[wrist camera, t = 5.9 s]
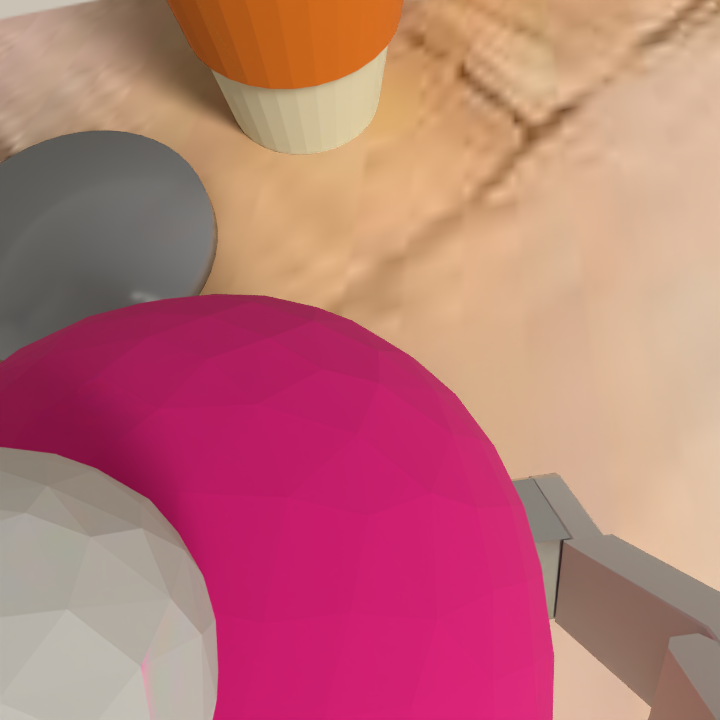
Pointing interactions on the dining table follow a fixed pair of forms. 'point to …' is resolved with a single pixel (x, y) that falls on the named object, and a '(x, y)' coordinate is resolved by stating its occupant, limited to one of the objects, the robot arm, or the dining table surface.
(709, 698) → the robot arm
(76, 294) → the plate
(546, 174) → the dining table surface
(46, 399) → the pepper mill
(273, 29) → the reusable coffee cup
